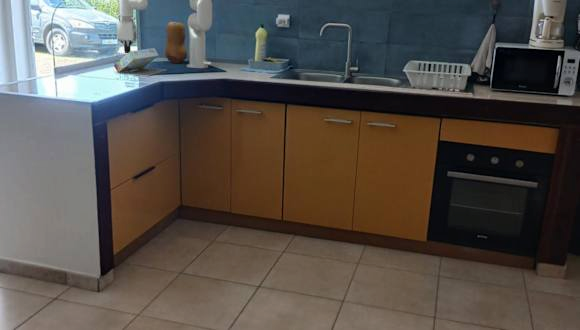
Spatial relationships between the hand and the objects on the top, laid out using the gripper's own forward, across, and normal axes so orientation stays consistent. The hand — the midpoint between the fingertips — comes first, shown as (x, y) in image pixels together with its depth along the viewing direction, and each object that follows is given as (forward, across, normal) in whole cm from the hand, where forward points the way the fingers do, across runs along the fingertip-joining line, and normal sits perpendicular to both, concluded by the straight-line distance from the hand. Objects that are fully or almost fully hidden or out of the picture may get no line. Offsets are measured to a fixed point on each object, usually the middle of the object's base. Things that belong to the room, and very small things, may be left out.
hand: (127, 52), depth 336 cm
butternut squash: (+10, -10, -41) cm, 44 cm away
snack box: (+8, 0, 0) cm, 8 cm away
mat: (+10, -12, 0) cm, 15 cm away
